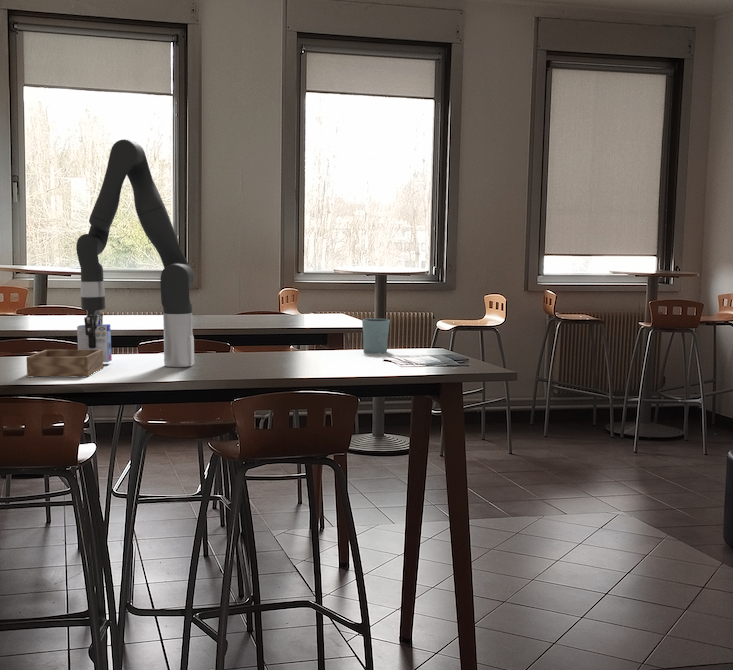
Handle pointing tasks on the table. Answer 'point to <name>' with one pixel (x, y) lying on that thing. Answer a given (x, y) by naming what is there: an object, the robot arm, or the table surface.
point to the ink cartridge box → (101, 340)
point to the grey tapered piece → (375, 335)
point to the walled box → (65, 363)
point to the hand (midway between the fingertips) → (94, 346)
